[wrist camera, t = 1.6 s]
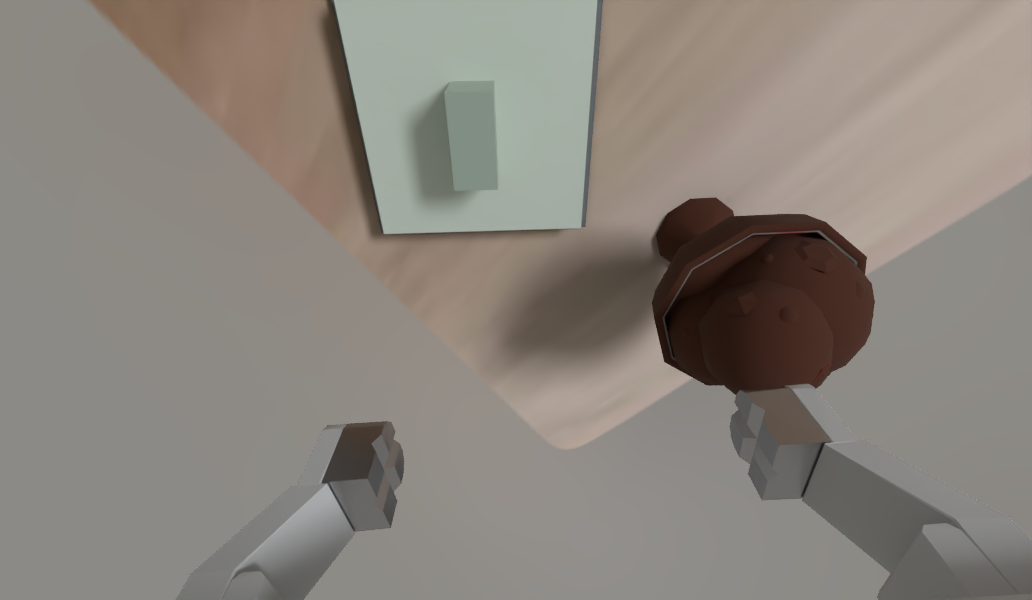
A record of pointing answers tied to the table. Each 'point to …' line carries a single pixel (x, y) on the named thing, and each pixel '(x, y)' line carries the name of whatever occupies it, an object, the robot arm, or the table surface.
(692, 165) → the table surface
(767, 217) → the ice cream bowl
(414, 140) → the lid
